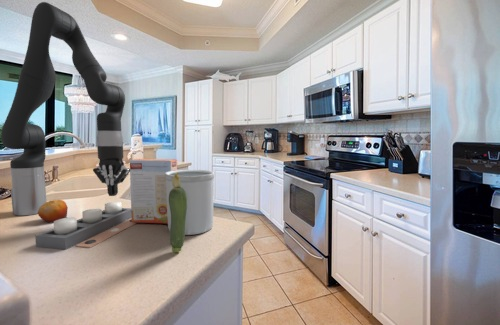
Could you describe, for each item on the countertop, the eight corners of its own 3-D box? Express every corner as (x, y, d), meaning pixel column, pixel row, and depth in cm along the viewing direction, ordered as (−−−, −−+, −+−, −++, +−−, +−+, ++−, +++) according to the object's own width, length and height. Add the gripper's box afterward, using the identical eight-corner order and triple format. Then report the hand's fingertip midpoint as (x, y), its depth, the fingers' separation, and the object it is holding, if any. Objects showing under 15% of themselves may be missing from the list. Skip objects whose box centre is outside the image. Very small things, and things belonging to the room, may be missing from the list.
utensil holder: (154, 231, 74) (154, 173, 72) (184, 216, 87) (184, 167, 86) (197, 239, 68) (198, 177, 67) (221, 223, 82) (222, 171, 81)
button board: (36, 246, 64) (35, 235, 64) (111, 215, 90) (111, 207, 90) (65, 249, 62) (64, 238, 62) (134, 216, 89) (133, 208, 88)
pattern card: (75, 246, 64) (75, 245, 64) (132, 218, 87) (132, 217, 87) (90, 247, 63) (90, 246, 63) (143, 219, 86) (143, 218, 86)
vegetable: (172, 247, 64) (170, 170, 62) (189, 247, 64) (187, 170, 62) (168, 255, 59) (165, 173, 57) (186, 254, 60) (184, 172, 58)
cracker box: (179, 218, 86) (178, 158, 84) (171, 224, 80) (170, 160, 78) (140, 217, 87) (139, 158, 85) (130, 222, 81) (128, 159, 79)
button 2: (101, 214, 83) (101, 205, 83) (112, 209, 88) (112, 201, 87) (114, 214, 82) (114, 205, 82) (125, 210, 87) (124, 202, 87)
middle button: (78, 222, 74) (78, 212, 74) (92, 217, 79) (91, 208, 79) (93, 224, 73) (92, 213, 73) (105, 218, 78) (105, 209, 78)
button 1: (49, 234, 65) (48, 222, 65) (66, 227, 70) (65, 217, 70) (65, 235, 64) (64, 224, 64) (81, 228, 69) (81, 218, 69)
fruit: (79, 212, 89) (65, 196, 84) (60, 230, 83) (44, 213, 78) (63, 210, 91) (49, 194, 87) (43, 227, 85) (28, 211, 81)
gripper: (83, 144, 80) (87, 197, 82) (120, 145, 78) (122, 199, 79) (101, 144, 88) (104, 192, 89) (135, 144, 85) (137, 193, 87)
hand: (113, 195), depth 84 cm, fingers closed
